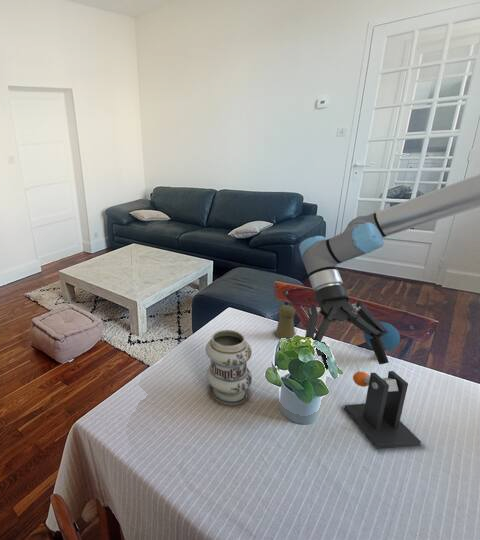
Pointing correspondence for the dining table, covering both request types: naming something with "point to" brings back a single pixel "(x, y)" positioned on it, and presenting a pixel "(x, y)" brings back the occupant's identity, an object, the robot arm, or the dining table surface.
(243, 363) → the apothecary jar
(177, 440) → the dining table surface
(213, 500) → the dining table surface
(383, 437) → the switch bracket
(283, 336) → the cork
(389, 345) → the light bulb
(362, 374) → the switch lever
